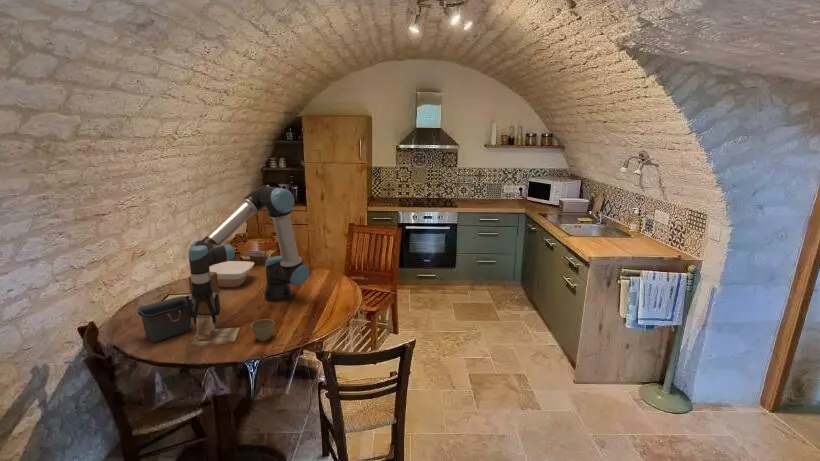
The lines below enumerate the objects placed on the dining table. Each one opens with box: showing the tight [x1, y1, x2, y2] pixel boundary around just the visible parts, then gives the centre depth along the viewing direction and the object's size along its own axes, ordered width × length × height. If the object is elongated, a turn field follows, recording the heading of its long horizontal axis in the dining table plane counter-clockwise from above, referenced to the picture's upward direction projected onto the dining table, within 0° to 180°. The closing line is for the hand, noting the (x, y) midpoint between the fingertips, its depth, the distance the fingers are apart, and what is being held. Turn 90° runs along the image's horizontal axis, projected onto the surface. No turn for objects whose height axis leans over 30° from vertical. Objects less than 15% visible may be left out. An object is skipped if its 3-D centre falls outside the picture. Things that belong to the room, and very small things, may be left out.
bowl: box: [209, 260, 255, 288], centre depth 261 cm, size 24×25×11 cm
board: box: [190, 327, 240, 347], centre depth 195 cm, size 18×13×1 cm
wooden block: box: [188, 272, 221, 315], centre depth 222 cm, size 10×10×20 cm
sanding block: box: [196, 317, 216, 341], centre depth 194 cm, size 5×9×6 cm, turn 12°
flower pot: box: [250, 318, 275, 342], centre depth 195 cm, size 10×10×7 cm
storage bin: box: [136, 295, 194, 343], centre depth 196 cm, size 21×16×14 cm
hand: (206, 329), depth 194 cm, fingers closed on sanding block, 5 cm apart
